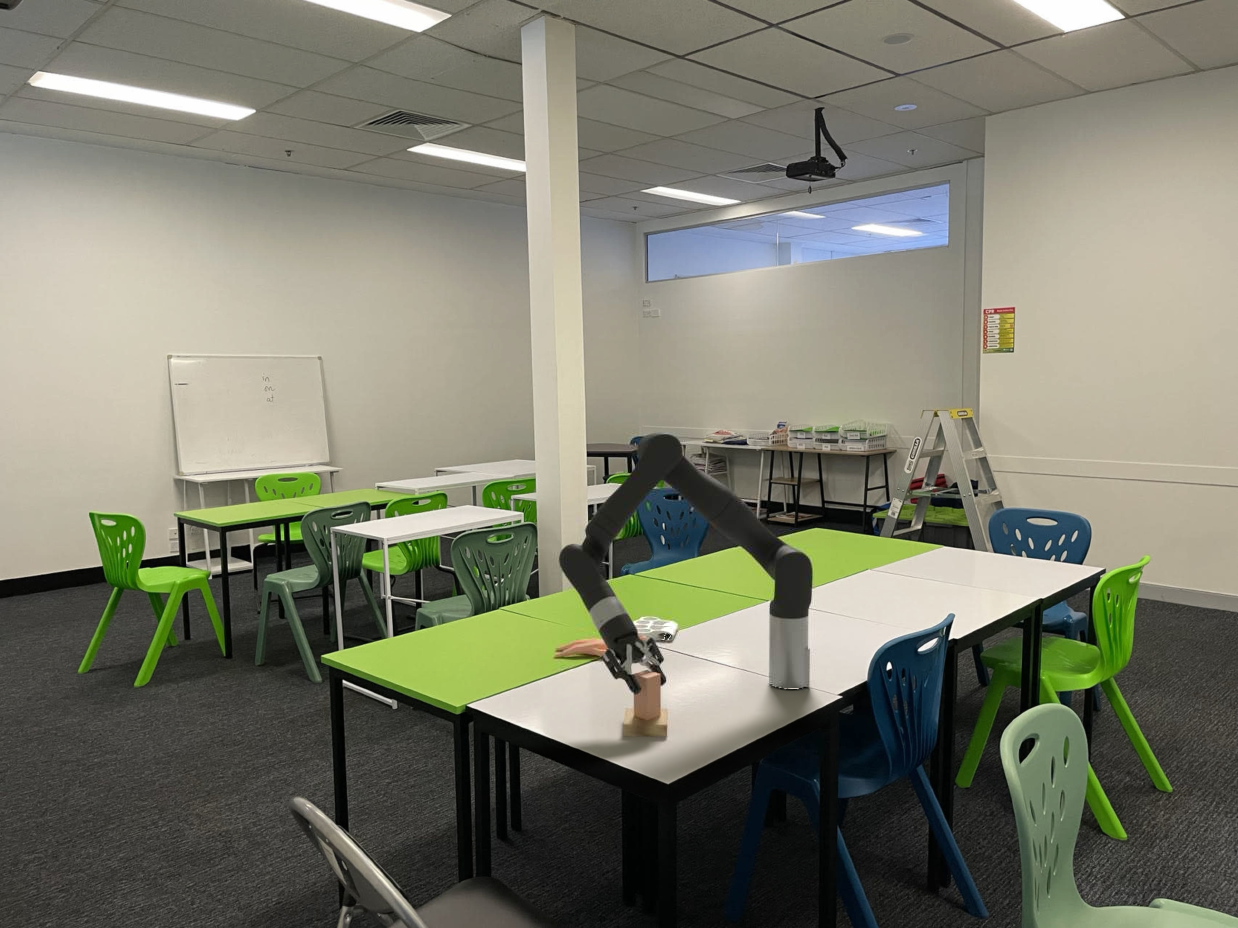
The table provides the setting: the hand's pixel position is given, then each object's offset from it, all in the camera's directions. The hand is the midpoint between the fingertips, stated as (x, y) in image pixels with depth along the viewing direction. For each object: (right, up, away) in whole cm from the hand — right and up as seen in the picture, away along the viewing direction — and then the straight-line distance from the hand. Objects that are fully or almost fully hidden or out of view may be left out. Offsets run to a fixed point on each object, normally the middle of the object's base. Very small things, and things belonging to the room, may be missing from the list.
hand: (650, 688), depth 181 cm
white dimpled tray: (+3, -4, +72) cm, 72 cm away
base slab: (-1, -9, +2) cm, 10 cm away
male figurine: (-12, -5, +54) cm, 56 cm away
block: (-1, -6, +2) cm, 7 cm away
